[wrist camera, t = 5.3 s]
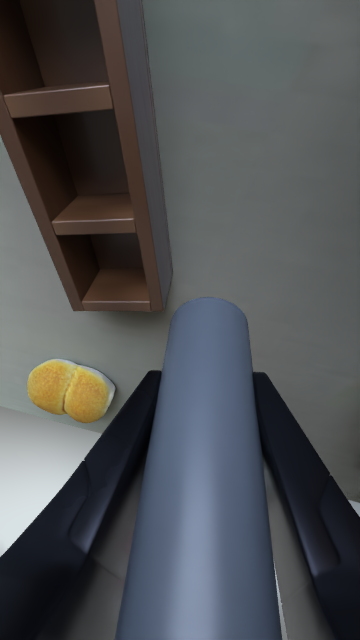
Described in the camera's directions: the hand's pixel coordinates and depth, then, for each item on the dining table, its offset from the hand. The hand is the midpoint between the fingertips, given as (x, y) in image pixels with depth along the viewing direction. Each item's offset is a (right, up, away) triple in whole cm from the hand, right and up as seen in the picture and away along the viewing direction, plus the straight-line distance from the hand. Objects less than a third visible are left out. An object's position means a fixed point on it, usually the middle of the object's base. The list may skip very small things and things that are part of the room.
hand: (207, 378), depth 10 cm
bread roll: (-12, -5, +23) cm, 27 cm away
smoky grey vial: (0, +2, +2) cm, 2 cm away
